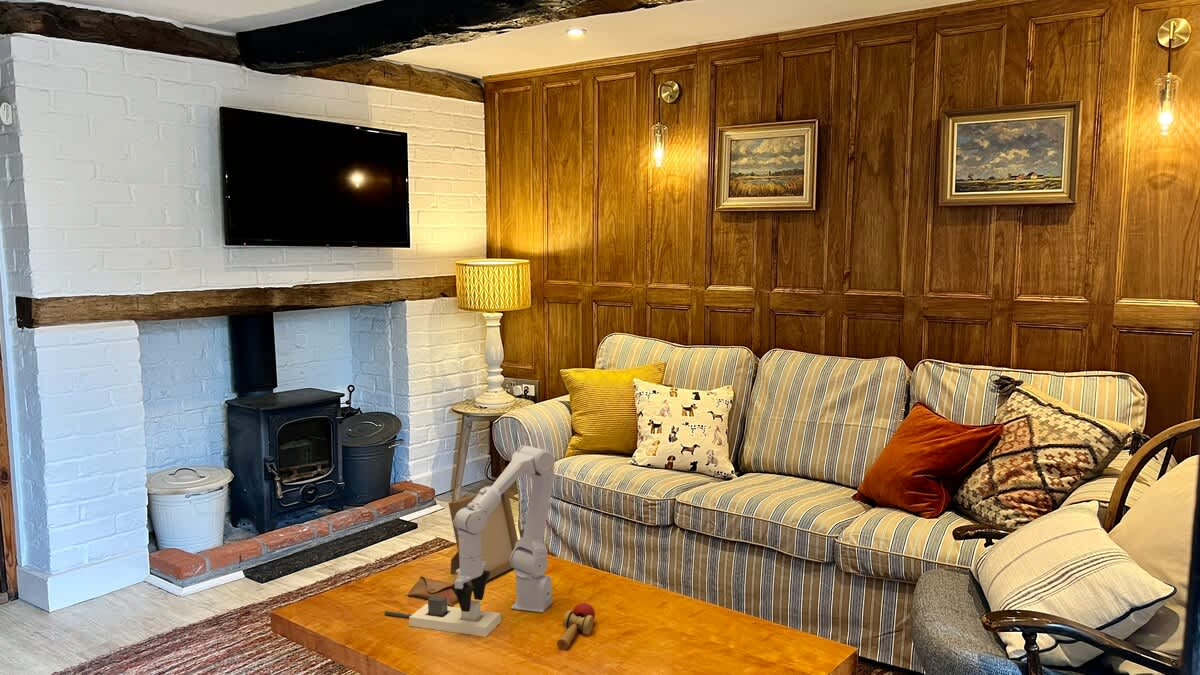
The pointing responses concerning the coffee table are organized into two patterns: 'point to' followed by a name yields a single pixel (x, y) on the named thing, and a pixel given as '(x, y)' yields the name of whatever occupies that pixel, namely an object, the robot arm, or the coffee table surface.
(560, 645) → the kendama
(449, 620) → the power strip
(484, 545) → the photo frame
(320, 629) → the coffee table surface
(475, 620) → the beige plug
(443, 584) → the sunglasses case
